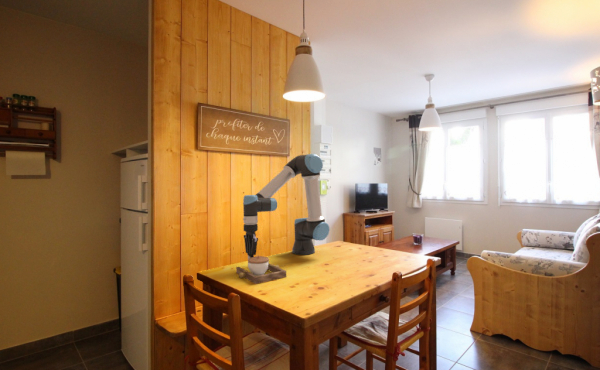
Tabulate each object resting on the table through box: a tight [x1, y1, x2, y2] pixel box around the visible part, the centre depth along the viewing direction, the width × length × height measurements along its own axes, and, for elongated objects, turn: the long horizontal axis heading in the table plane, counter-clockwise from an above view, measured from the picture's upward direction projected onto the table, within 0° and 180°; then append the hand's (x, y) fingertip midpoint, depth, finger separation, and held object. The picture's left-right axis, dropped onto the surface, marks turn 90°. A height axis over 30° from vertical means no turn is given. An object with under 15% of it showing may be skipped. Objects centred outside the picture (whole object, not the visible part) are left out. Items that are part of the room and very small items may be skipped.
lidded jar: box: [247, 255, 270, 276], centre depth 154 cm, size 11×11×9 cm
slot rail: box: [235, 263, 287, 285], centre depth 153 cm, size 22×22×3 cm
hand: (250, 267), depth 161 cm, fingers closed
